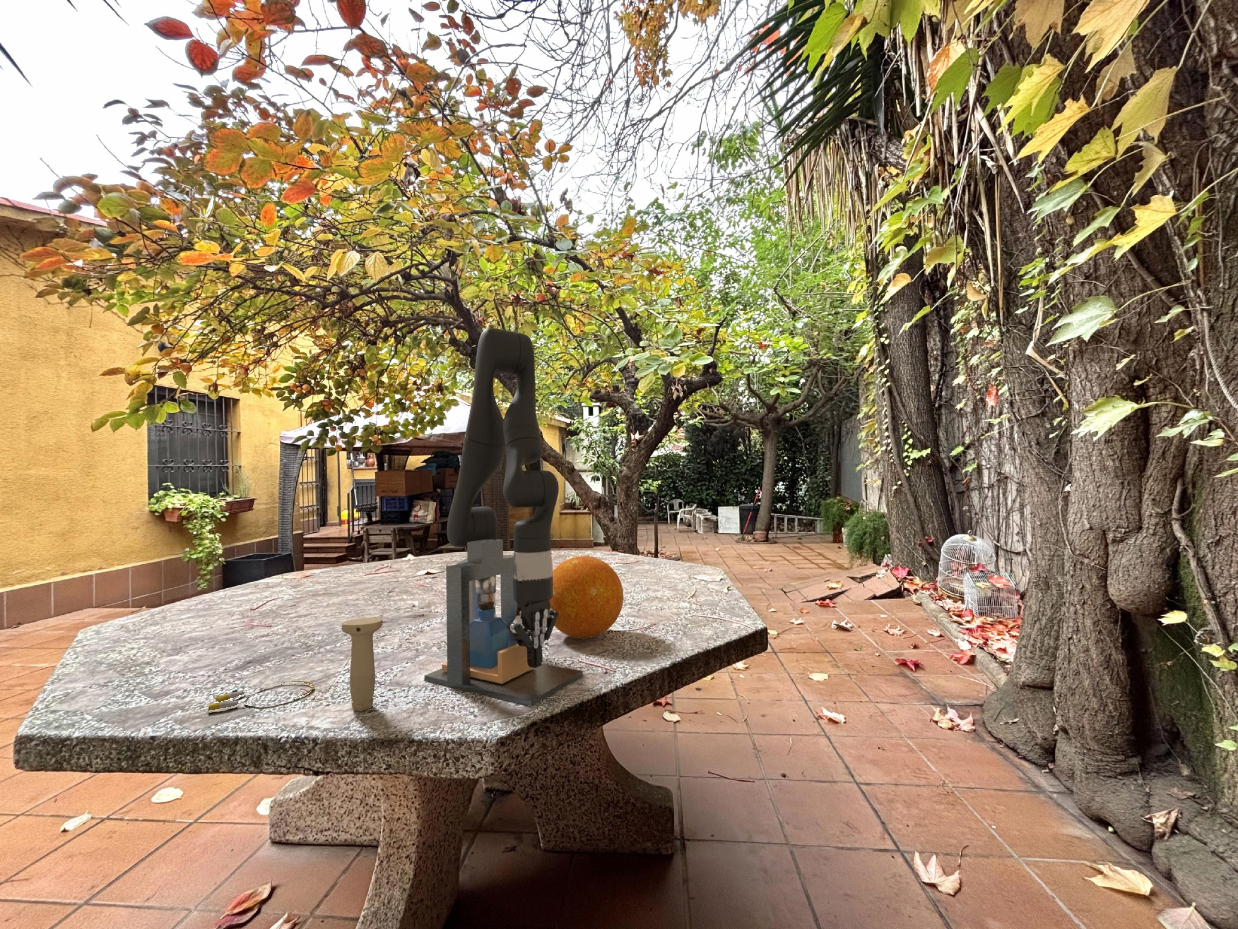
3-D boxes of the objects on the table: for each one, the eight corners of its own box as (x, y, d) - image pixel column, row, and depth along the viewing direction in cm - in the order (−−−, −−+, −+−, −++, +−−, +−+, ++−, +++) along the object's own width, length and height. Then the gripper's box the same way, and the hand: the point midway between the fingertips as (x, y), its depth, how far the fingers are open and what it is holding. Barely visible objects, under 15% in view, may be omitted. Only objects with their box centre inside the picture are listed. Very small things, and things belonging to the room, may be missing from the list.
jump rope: (235, 691, 103) (235, 681, 103) (323, 684, 106) (323, 674, 106) (197, 718, 91) (198, 706, 91) (298, 709, 94) (298, 698, 94)
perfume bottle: (508, 658, 109) (507, 600, 110) (491, 668, 104) (490, 606, 104) (483, 656, 112) (482, 598, 112) (464, 665, 106) (464, 605, 106)
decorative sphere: (545, 628, 142) (543, 552, 142) (619, 624, 144) (618, 550, 145) (542, 651, 122) (541, 563, 123) (629, 646, 124) (627, 560, 125)
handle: (347, 704, 94) (346, 619, 95) (385, 701, 95) (385, 616, 96) (338, 716, 89) (337, 626, 90) (378, 712, 91) (378, 623, 91)
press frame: (422, 681, 105) (421, 543, 106) (484, 656, 119) (482, 535, 120) (529, 707, 91) (527, 549, 92) (584, 675, 106) (581, 539, 107)
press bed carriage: (441, 670, 107) (441, 641, 107) (478, 655, 116) (477, 629, 116) (502, 683, 99) (501, 652, 99) (536, 667, 108) (535, 638, 108)
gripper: (539, 568, 109) (541, 654, 109) (493, 579, 98) (495, 674, 97) (569, 570, 106) (571, 659, 105) (525, 581, 94) (527, 681, 93)
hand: (534, 666), depth 101 cm, fingers closed
